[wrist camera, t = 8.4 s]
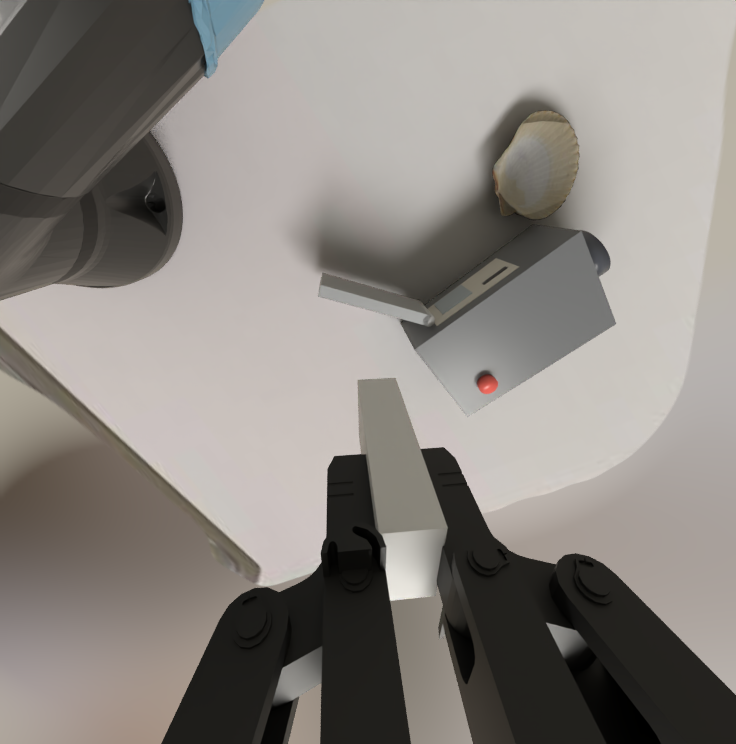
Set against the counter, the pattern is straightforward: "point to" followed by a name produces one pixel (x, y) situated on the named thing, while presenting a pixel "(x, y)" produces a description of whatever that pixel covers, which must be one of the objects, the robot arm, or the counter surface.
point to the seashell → (537, 167)
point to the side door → (374, 300)
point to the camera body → (515, 314)
